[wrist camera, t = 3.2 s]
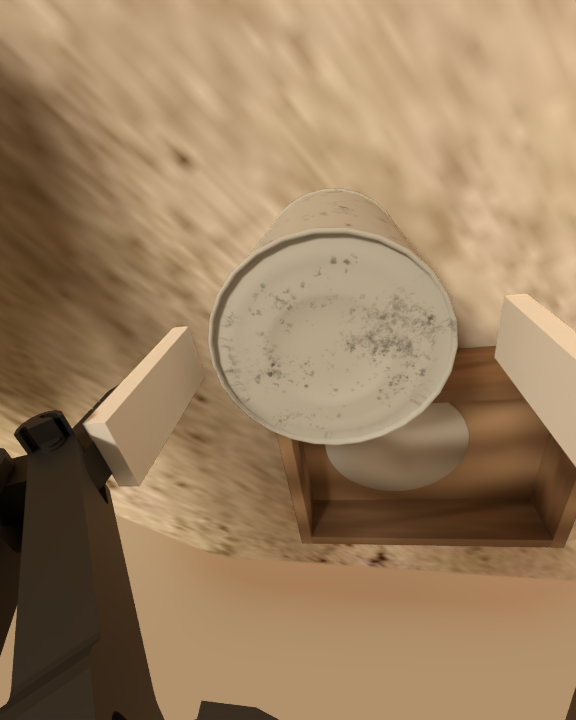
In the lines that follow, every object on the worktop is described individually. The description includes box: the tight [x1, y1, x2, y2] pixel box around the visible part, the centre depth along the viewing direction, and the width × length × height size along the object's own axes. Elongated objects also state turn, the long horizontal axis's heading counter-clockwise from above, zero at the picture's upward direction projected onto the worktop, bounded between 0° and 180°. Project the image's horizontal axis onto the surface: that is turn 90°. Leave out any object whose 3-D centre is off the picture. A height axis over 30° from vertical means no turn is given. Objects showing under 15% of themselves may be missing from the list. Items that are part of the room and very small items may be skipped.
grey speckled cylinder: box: [208, 189, 458, 445], centre depth 19 cm, size 10×10×12 cm
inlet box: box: [276, 346, 576, 548], centre depth 29 cm, size 17×22×5 cm
